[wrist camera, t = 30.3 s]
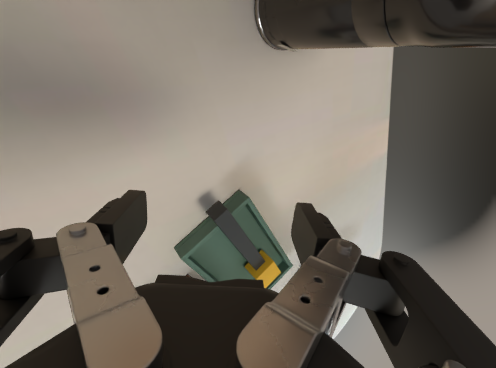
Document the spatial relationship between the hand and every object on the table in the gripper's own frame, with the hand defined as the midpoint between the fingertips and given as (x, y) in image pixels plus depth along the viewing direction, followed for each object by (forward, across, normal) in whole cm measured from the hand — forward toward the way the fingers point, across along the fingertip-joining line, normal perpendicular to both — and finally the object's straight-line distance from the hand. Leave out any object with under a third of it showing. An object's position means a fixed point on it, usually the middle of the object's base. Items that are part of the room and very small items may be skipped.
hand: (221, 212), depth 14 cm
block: (+25, -3, +19) cm, 32 cm away
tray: (+28, -3, +23) cm, 36 cm away
